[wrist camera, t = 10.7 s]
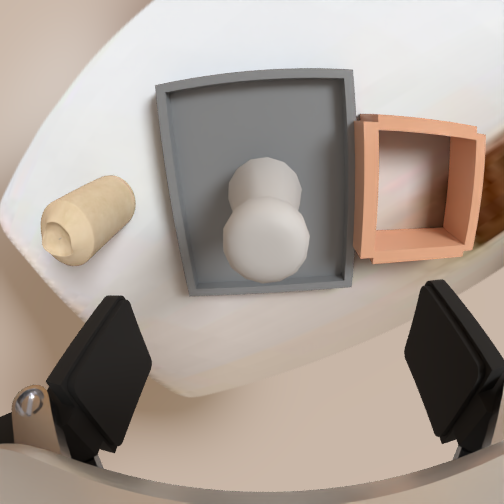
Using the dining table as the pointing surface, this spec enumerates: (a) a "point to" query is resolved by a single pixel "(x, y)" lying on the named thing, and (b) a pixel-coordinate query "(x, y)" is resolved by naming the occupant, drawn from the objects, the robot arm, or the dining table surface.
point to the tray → (259, 146)
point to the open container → (457, 203)
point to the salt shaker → (265, 222)
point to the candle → (86, 219)
